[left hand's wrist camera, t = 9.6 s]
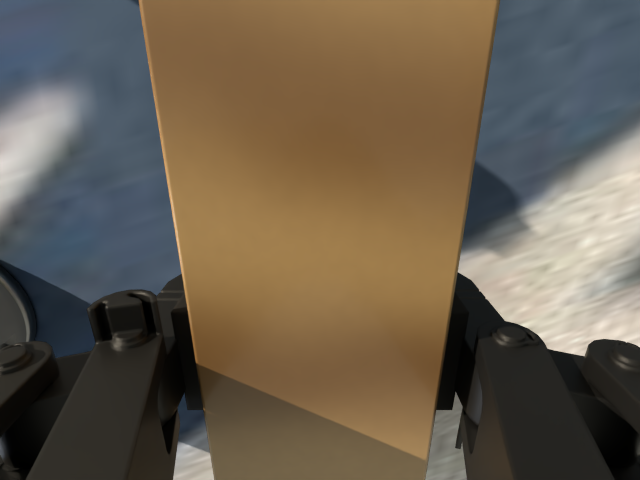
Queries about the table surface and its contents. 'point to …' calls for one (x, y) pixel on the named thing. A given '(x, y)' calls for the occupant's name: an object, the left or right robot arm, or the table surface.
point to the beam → (319, 218)
